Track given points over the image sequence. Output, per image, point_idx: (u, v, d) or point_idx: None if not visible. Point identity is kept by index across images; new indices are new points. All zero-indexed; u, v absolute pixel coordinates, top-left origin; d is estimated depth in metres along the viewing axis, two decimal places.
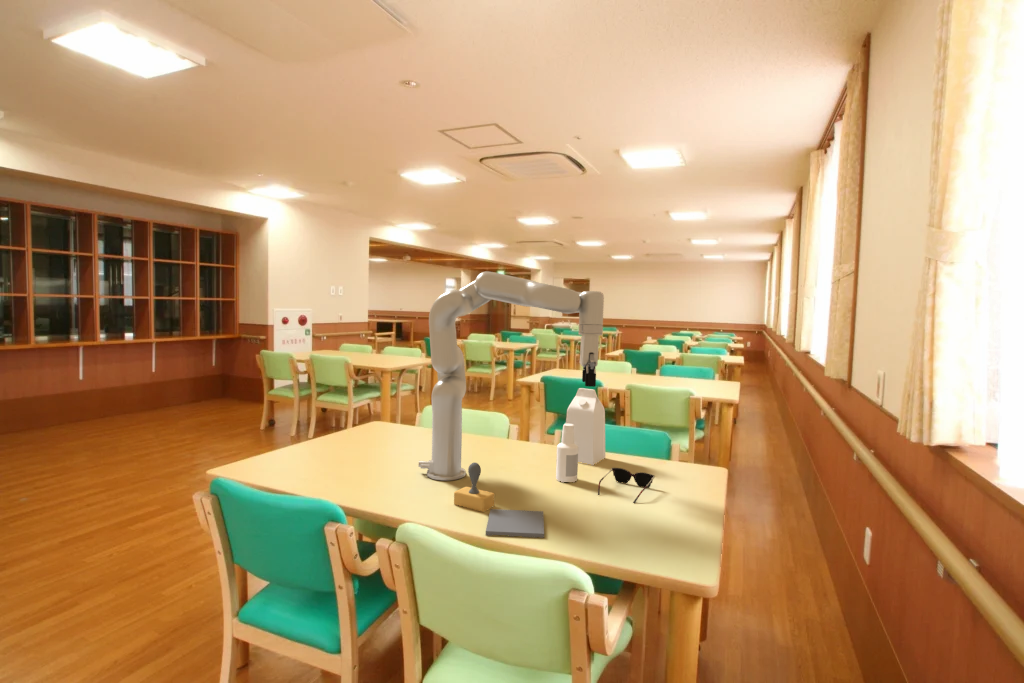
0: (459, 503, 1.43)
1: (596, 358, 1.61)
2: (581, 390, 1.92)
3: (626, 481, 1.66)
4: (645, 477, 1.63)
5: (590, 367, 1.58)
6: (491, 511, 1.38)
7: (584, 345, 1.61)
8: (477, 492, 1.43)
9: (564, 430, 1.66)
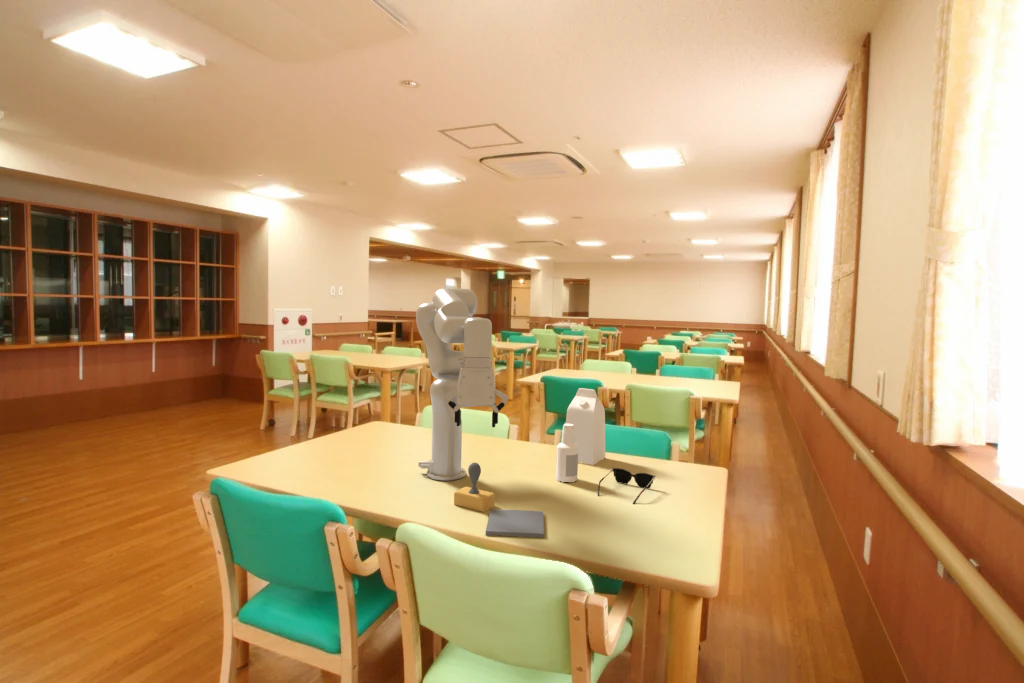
0: (459, 503, 1.43)
1: None
2: (581, 390, 1.92)
3: (626, 481, 1.66)
4: (645, 478, 1.62)
5: (504, 404, 1.42)
6: (491, 511, 1.38)
7: (493, 381, 1.40)
8: (477, 492, 1.43)
9: (564, 430, 1.66)
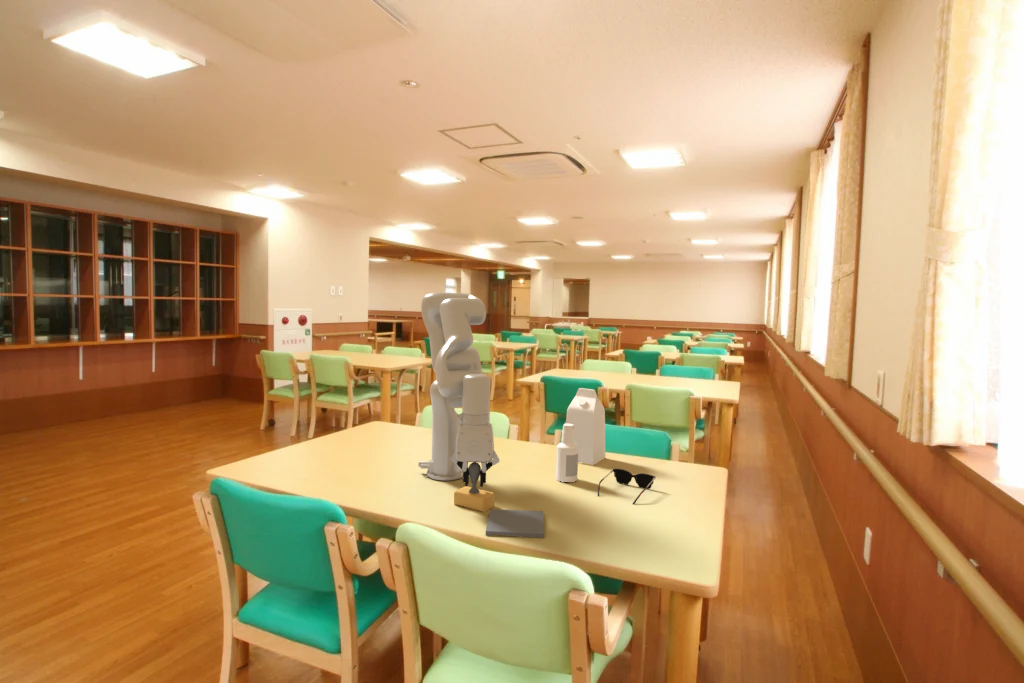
0: (459, 503, 1.43)
1: None
2: (581, 390, 1.92)
3: (627, 482, 1.65)
4: (646, 478, 1.62)
5: (492, 465, 1.43)
6: (491, 511, 1.38)
7: (491, 438, 1.41)
8: (477, 492, 1.43)
9: (564, 430, 1.66)
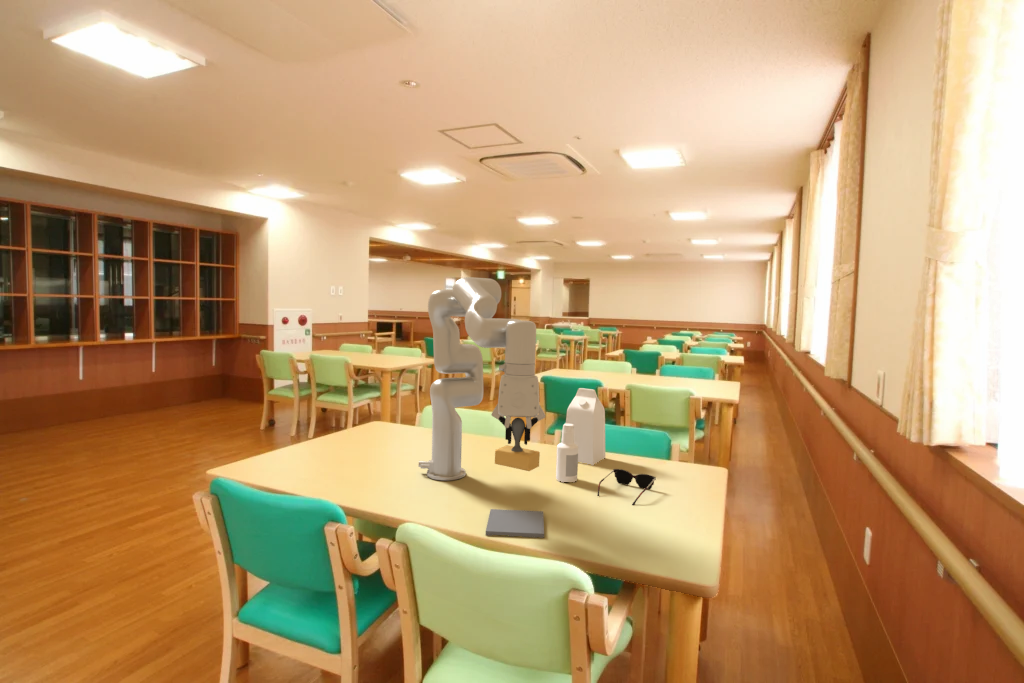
0: (501, 462, 1.30)
1: None
2: (581, 390, 1.92)
3: (627, 482, 1.65)
4: (646, 479, 1.61)
5: (537, 421, 1.30)
6: (491, 511, 1.38)
7: (537, 390, 1.28)
8: (521, 450, 1.30)
9: (564, 430, 1.66)
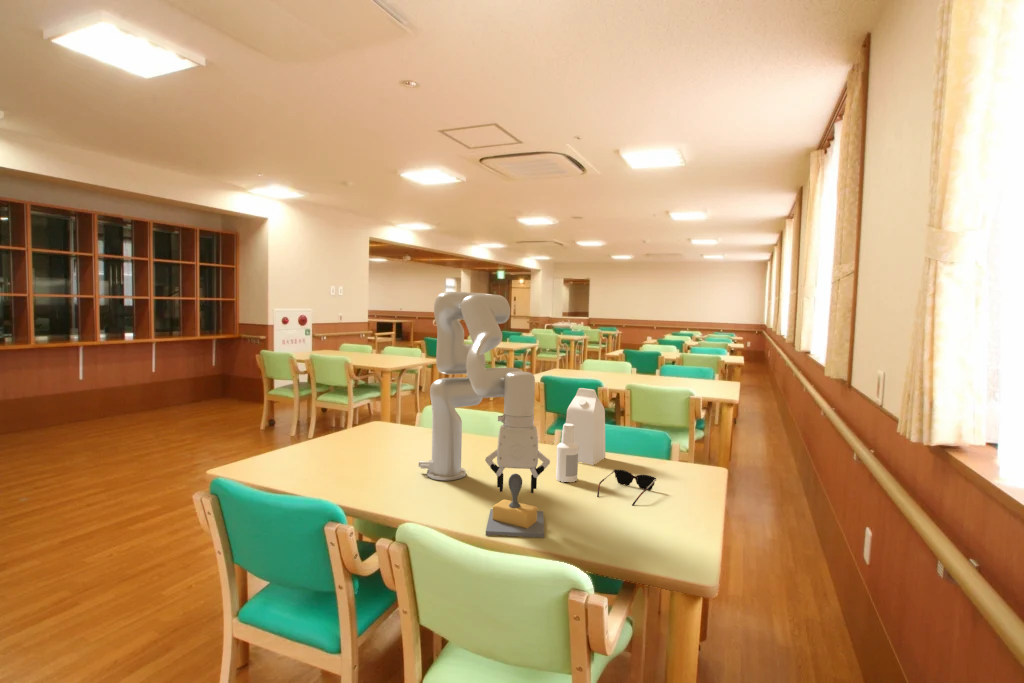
0: (499, 518, 1.31)
1: None
2: (581, 390, 1.92)
3: (628, 483, 1.64)
4: (647, 480, 1.61)
5: (544, 468, 1.30)
6: (491, 511, 1.38)
7: (536, 442, 1.28)
8: (518, 506, 1.31)
9: (564, 430, 1.66)
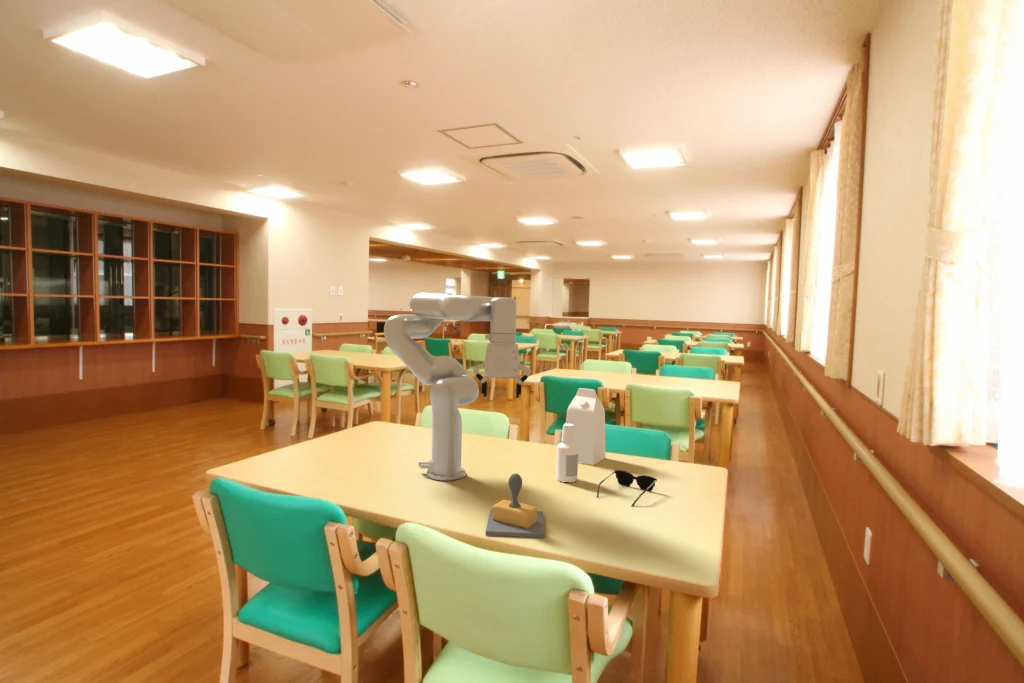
0: (499, 518, 1.31)
1: None
2: (581, 390, 1.92)
3: (629, 484, 1.63)
4: (647, 480, 1.60)
5: (527, 377, 1.54)
6: (491, 511, 1.38)
7: (517, 355, 1.52)
8: (518, 506, 1.31)
9: (564, 430, 1.66)
